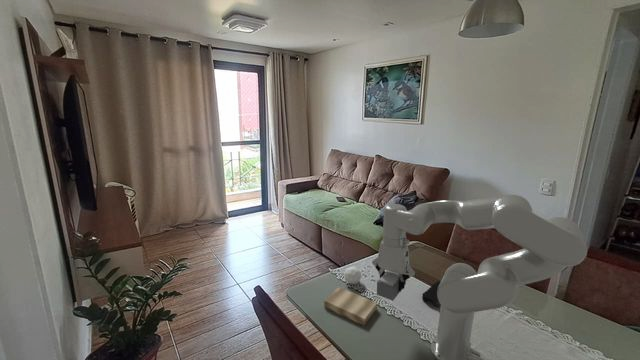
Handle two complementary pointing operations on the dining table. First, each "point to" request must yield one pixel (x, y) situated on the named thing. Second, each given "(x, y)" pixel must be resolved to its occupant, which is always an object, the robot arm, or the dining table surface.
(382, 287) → the grey rectangular block
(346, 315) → the oak stand
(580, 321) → the dining table surface
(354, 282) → the geometric ball
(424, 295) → the black sponge
